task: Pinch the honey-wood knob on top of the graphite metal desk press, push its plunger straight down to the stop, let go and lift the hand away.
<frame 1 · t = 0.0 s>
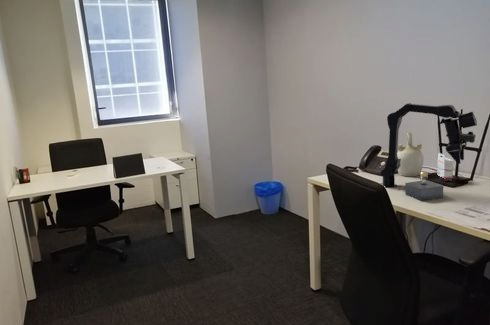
hand: (460, 161, 189), 15 cm above the table, tool pointing down, fingers open, 9 cm apart
jug: (409, 174, 233), on the table
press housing: (423, 196, 191), on the table
ink cartridge box: (444, 180, 216), on the table
plunger: (424, 179, 189), point 8 cm above the table, slide at 0.0 cm
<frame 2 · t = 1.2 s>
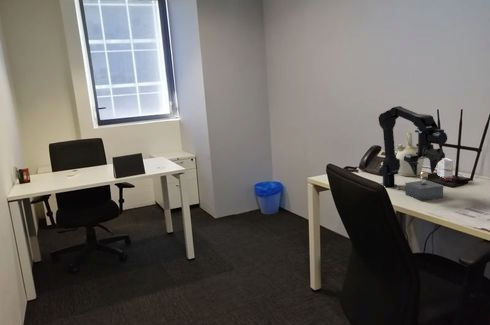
hand: (424, 173, 189), 11 cm above the table, tool pointing down, fingers open, 9 cm apart
nothing on the table moved.
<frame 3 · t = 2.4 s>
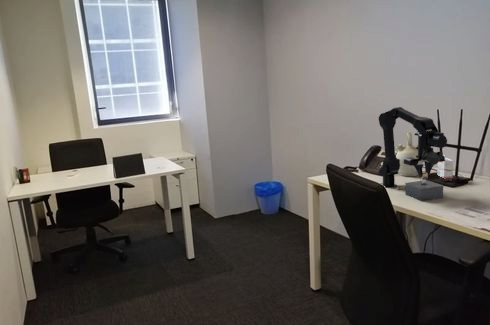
hand: (424, 177, 189), 10 cm above the table, tool pointing down, fingers closed on plunger, 3 cm apart
plunger: (424, 180, 189), point 8 cm above the table, slide at 0.0 cm, touching gripper
everything else where it was.
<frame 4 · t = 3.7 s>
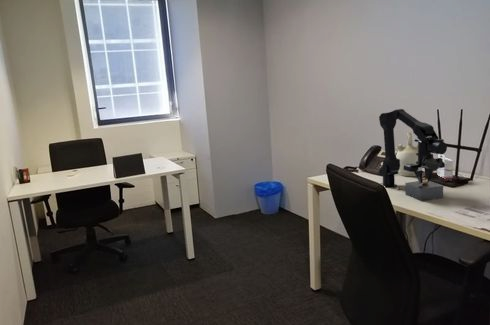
hand: (423, 183, 190), 7 cm above the table, tool pointing down, fingers closed on plunger, 3 cm apart
plunger: (423, 186, 190), point 5 cm above the table, slide at 3.1 cm, touching gripper
everything else where it was.
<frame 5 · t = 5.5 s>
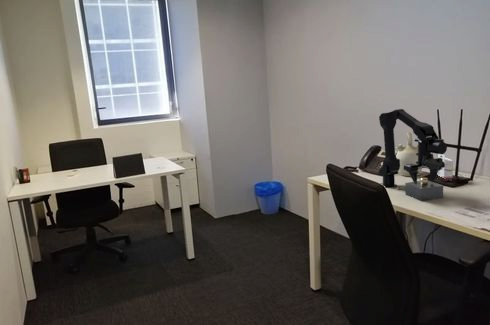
hand: (423, 183, 190), 7 cm above the table, tool pointing down, fingers open, 9 cm apart
plunger: (423, 186, 190), point 5 cm above the table, slide at 3.1 cm
everything else where it was.
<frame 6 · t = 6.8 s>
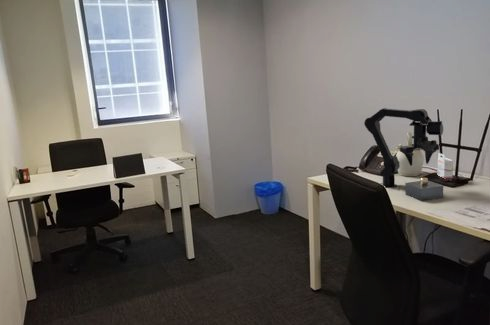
hand: (419, 164, 201), 13 cm above the table, tool pointing down, fingers open, 9 cm apart
nothing on the table moved.
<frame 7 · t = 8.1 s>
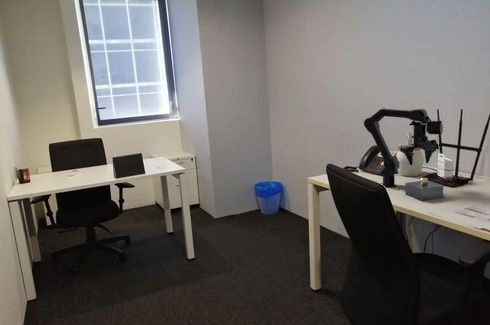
hand: (419, 164, 201), 13 cm above the table, tool pointing down, fingers open, 9 cm apart
nothing on the table moved.
at the end: plunger slide at 3.1 cm; the gripper is holding nothing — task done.
